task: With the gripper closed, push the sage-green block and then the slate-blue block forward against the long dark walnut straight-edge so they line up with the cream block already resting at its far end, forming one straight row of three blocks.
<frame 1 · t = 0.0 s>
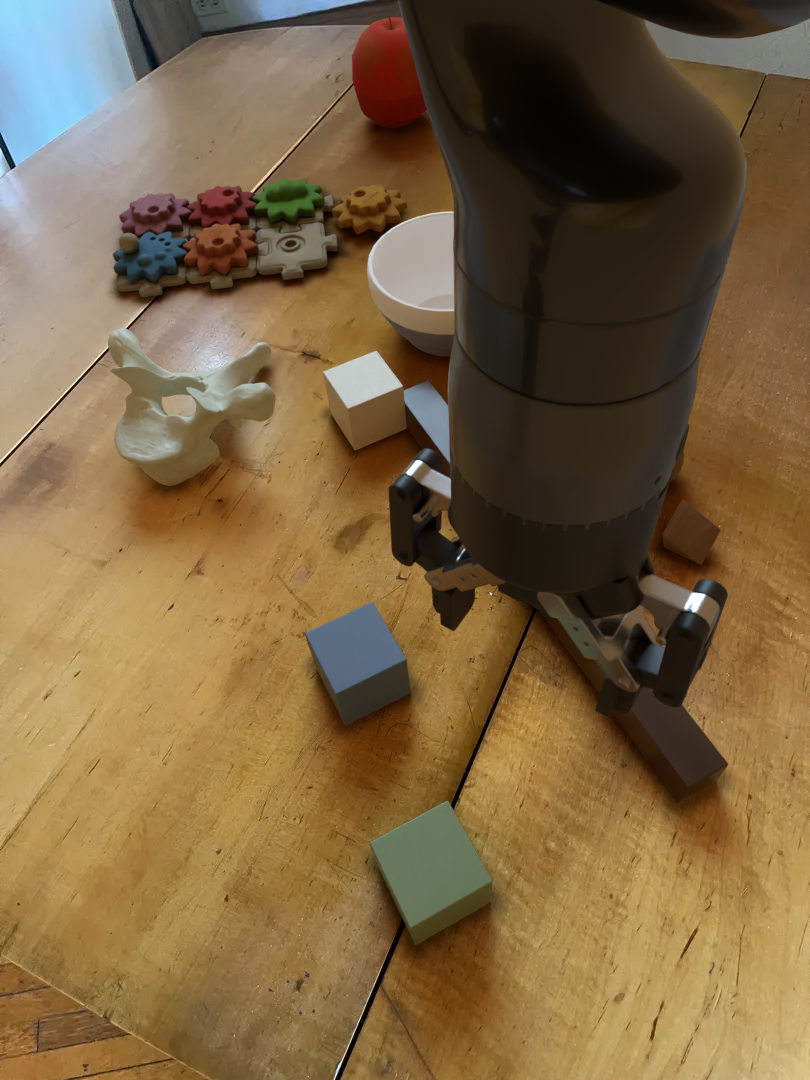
hand: (532, 655, 40), 15 cm above the table, tool pointing down, fingers open, 8 cm apart
green block: (433, 883, 49), on the table
bowl: (450, 329, 77), on the table
straightedge: (532, 569, 61), on the table
wooden block set: (611, 483, 65), on the table
apple: (397, 121, 100), on the table
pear: (587, 197, 88), on the table
cream block: (368, 421, 71), on the table
bone: (213, 423, 72), on the table
blue block: (362, 680, 57), on the table
gear puzzle: (265, 239, 88), on the table
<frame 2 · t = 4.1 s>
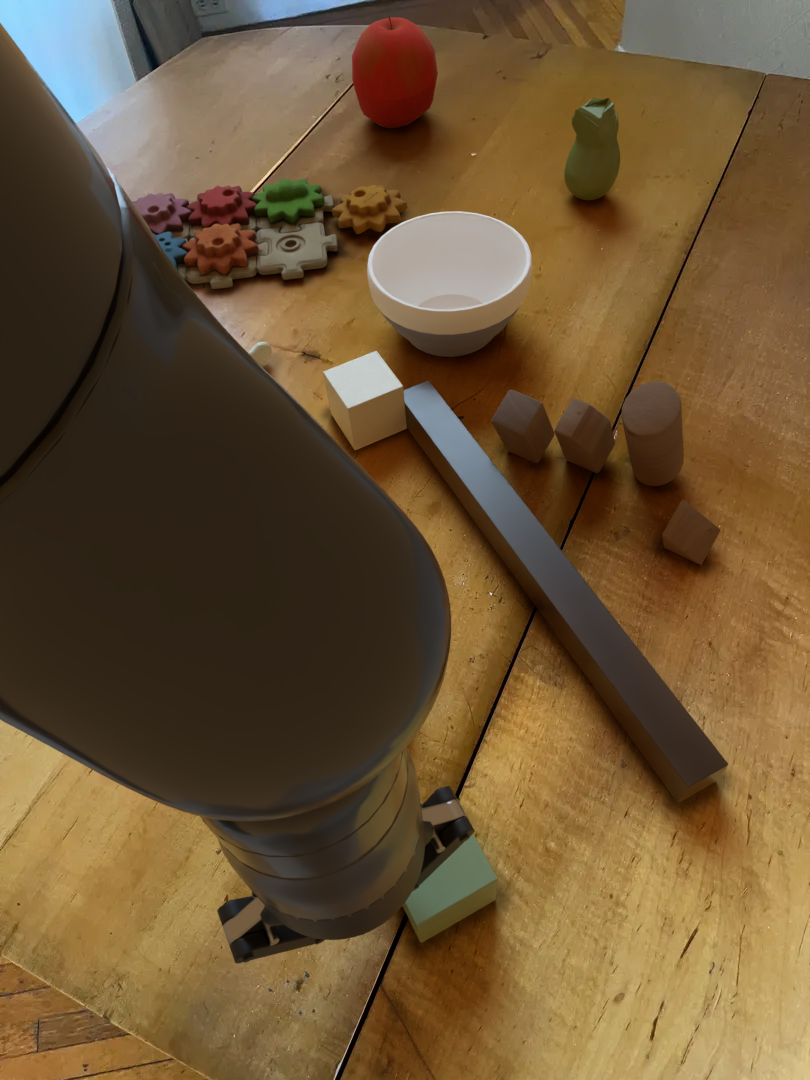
hand: (366, 910, 46), 3 cm above the table, tool pointing down, fingers closed
green block: (438, 881, 49), on the table, touching gripper
everything else where it was.
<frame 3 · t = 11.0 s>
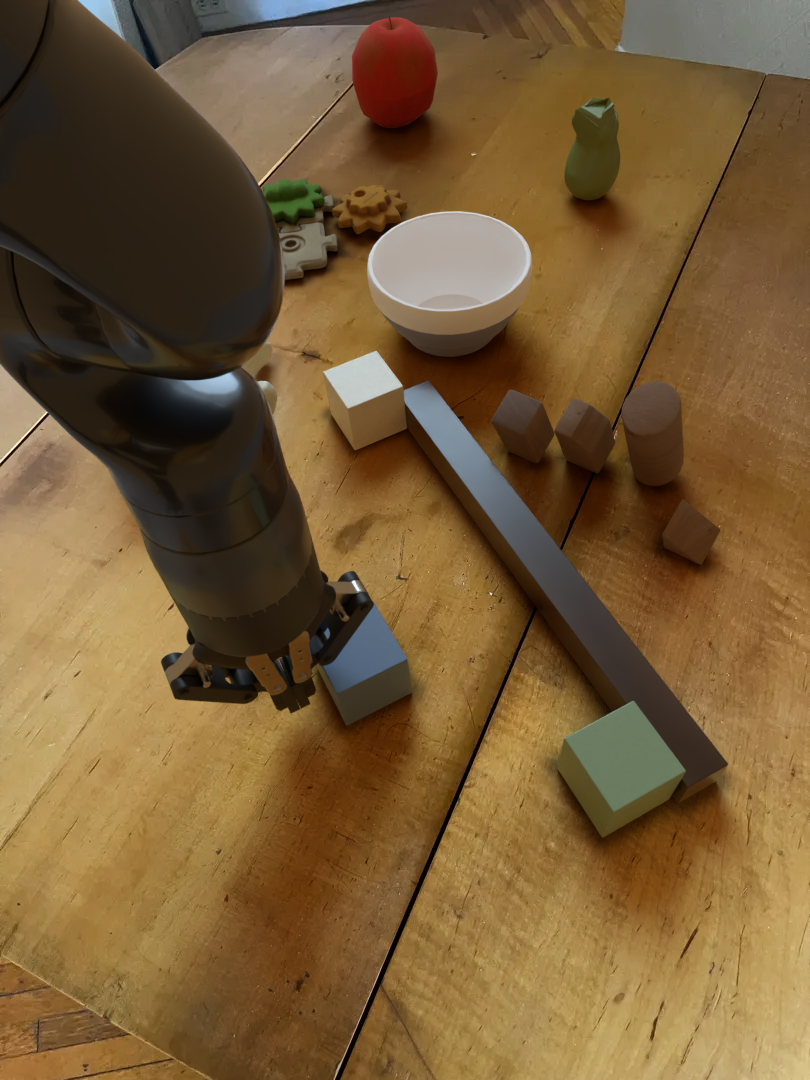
hand: (295, 697, 54), 2 cm above the table, tool pointing down, fingers closed
green block: (612, 783, 51), on the table
blue block: (364, 680, 57), on the table, touching gripper
everything else where it was.
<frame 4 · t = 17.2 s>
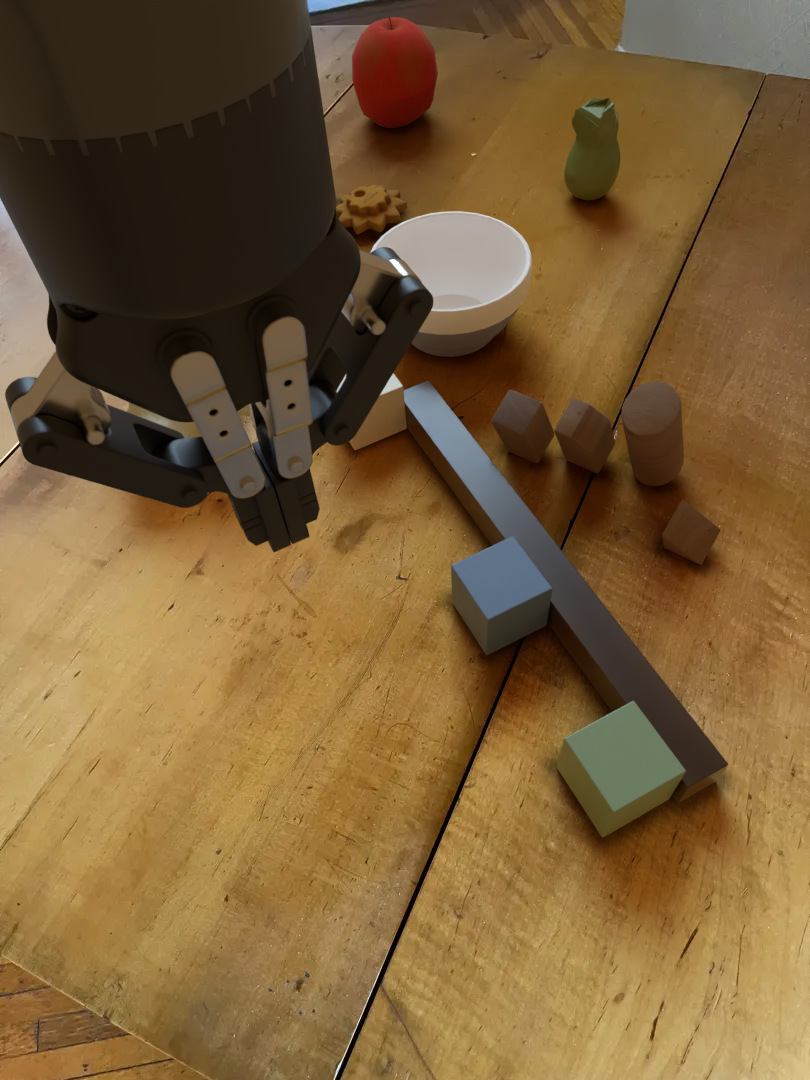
hand: (283, 528, 31), 27 cm above the table, tool pointing down, fingers closed
blue block: (498, 614, 59), on the table
everything else where it was.
at the end: green block 0.3 cm from the target spot on the table beside the straightedge, on the table; blue block 0.4 cm from the target spot on the table beside the straightedge, on the table; cream block 0.5 cm from the target spot on the table beside the straightedge, on the table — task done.
